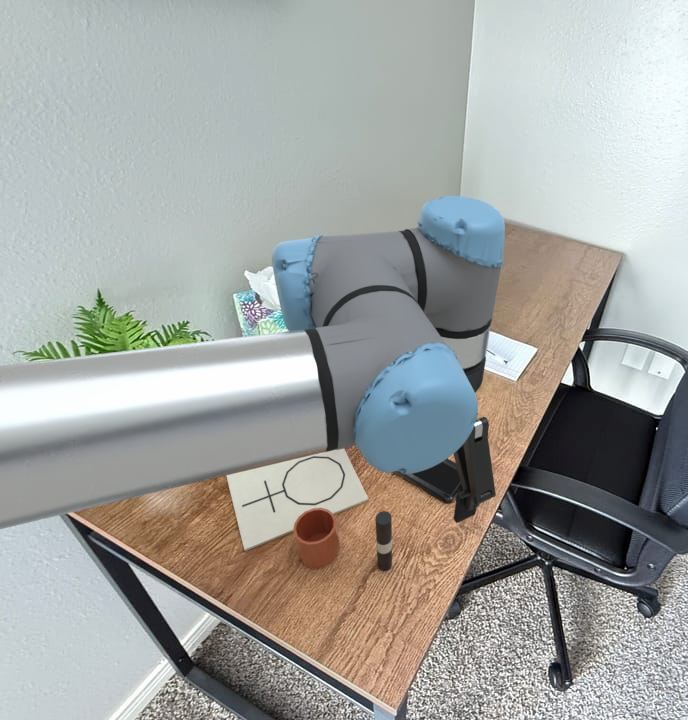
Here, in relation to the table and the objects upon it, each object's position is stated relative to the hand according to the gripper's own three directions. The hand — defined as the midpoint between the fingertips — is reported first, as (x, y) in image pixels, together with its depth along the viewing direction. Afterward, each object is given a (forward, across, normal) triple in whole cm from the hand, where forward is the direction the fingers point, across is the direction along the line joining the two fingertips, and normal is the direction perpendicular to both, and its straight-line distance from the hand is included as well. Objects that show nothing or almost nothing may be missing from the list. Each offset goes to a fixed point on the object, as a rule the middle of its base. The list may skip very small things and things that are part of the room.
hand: (438, 476), depth 62 cm
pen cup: (+21, +9, +15) cm, 27 cm away
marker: (+20, +2, +7) cm, 22 cm away
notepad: (+21, +22, +15) cm, 34 cm away
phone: (+20, +15, -7) cm, 26 cm away
